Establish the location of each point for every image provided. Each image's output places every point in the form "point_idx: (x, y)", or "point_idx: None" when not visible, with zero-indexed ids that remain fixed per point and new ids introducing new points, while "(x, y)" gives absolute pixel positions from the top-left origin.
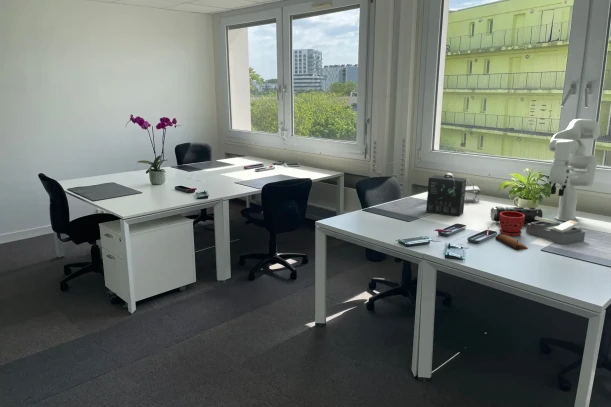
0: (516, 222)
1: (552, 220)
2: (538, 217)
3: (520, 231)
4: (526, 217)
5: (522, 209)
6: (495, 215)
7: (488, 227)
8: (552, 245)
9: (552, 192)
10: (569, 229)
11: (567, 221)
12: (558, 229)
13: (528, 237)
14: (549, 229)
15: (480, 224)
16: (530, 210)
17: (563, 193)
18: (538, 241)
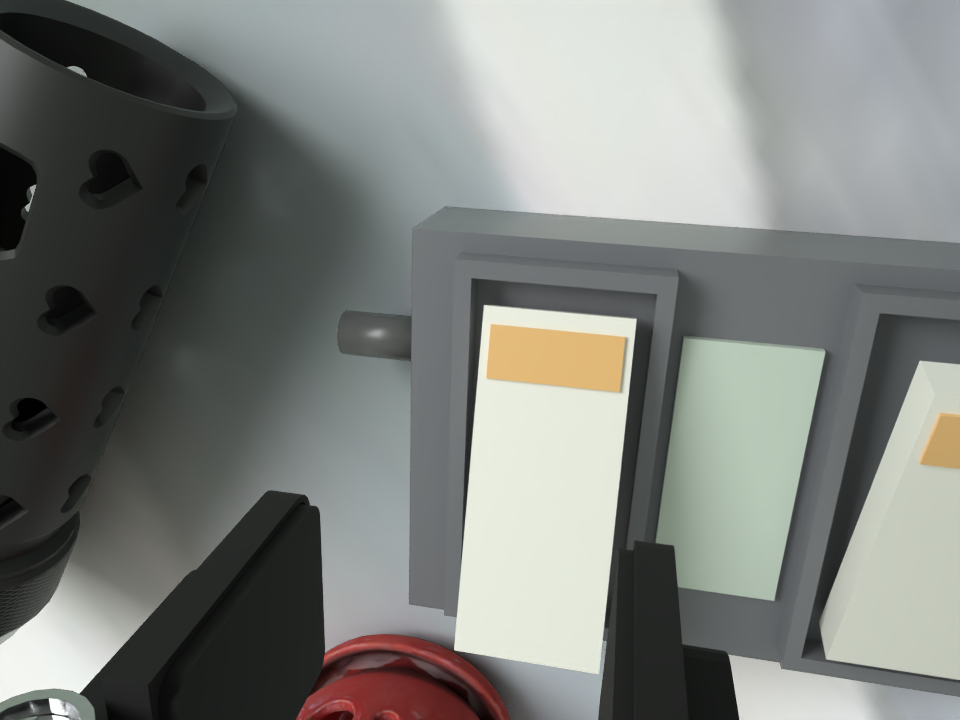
0: (349, 710)
1: (588, 388)
2: (514, 658)
3: (468, 685)
4: (147, 326)
5: (2, 376)
6: (10, 633)
7: None
8: (915, 716)
9: (301, 689)
10: (911, 363)
11: (922, 461)
12: (909, 667)
13: (587, 673)
14: (733, 598)
15: (58, 673)
16: (58, 276)
17: (727, 674)
18: (738, 709)
